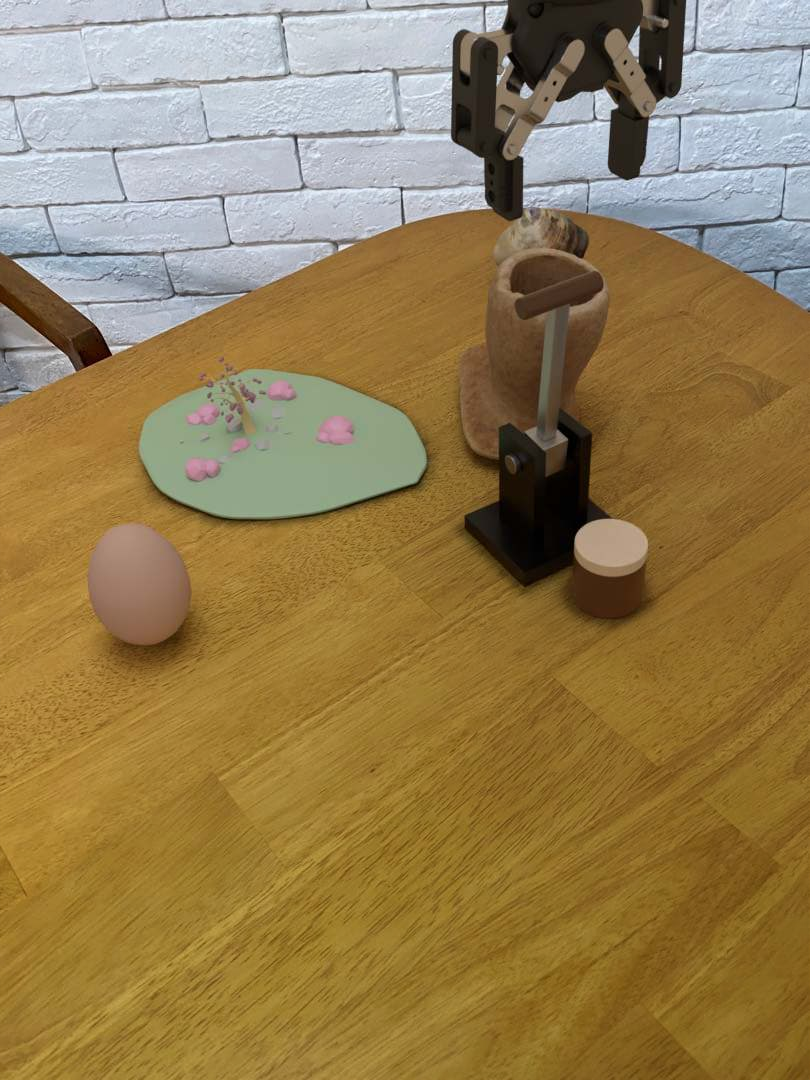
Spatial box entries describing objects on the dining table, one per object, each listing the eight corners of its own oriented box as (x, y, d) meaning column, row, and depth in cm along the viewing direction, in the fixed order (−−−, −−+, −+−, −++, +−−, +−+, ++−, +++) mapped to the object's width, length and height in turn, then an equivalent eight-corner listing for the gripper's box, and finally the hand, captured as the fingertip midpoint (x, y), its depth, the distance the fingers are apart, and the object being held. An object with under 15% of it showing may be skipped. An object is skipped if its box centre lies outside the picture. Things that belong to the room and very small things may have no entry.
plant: (442, 379, 103) (438, 290, 97) (417, 526, 88) (410, 431, 82) (177, 375, 106) (158, 289, 100) (109, 517, 91) (81, 425, 85)
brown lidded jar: (657, 600, 80) (663, 547, 77) (601, 628, 78) (605, 576, 75) (612, 561, 83) (617, 509, 80) (557, 587, 82) (559, 535, 78)
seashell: (495, 297, 114) (494, 223, 108) (492, 270, 118) (491, 197, 113) (590, 292, 113) (594, 217, 108) (584, 265, 117) (587, 192, 112)
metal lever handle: (610, 280, 71) (587, 262, 73) (532, 309, 69) (510, 290, 71) (586, 459, 82) (566, 441, 84) (518, 489, 80) (499, 470, 82)
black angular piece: (622, 540, 85) (631, 435, 79) (524, 587, 82) (526, 481, 75) (558, 486, 90) (562, 383, 84) (464, 528, 87) (460, 424, 81)
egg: (111, 605, 83) (78, 503, 77) (203, 595, 83) (178, 493, 77) (100, 674, 78) (64, 570, 72) (199, 663, 78) (171, 559, 72)
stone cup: (607, 470, 92) (619, 306, 82) (460, 474, 92) (455, 312, 82) (589, 368, 103) (598, 213, 93) (459, 372, 104) (454, 219, 94)
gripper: (640, -151, 61) (620, 143, 72) (415, -103, 56) (429, 206, 67) (739, -129, 56) (701, 184, 67) (502, -74, 51) (502, 254, 62)
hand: (565, 194), depth 67 cm, fingers open, 8 cm apart
